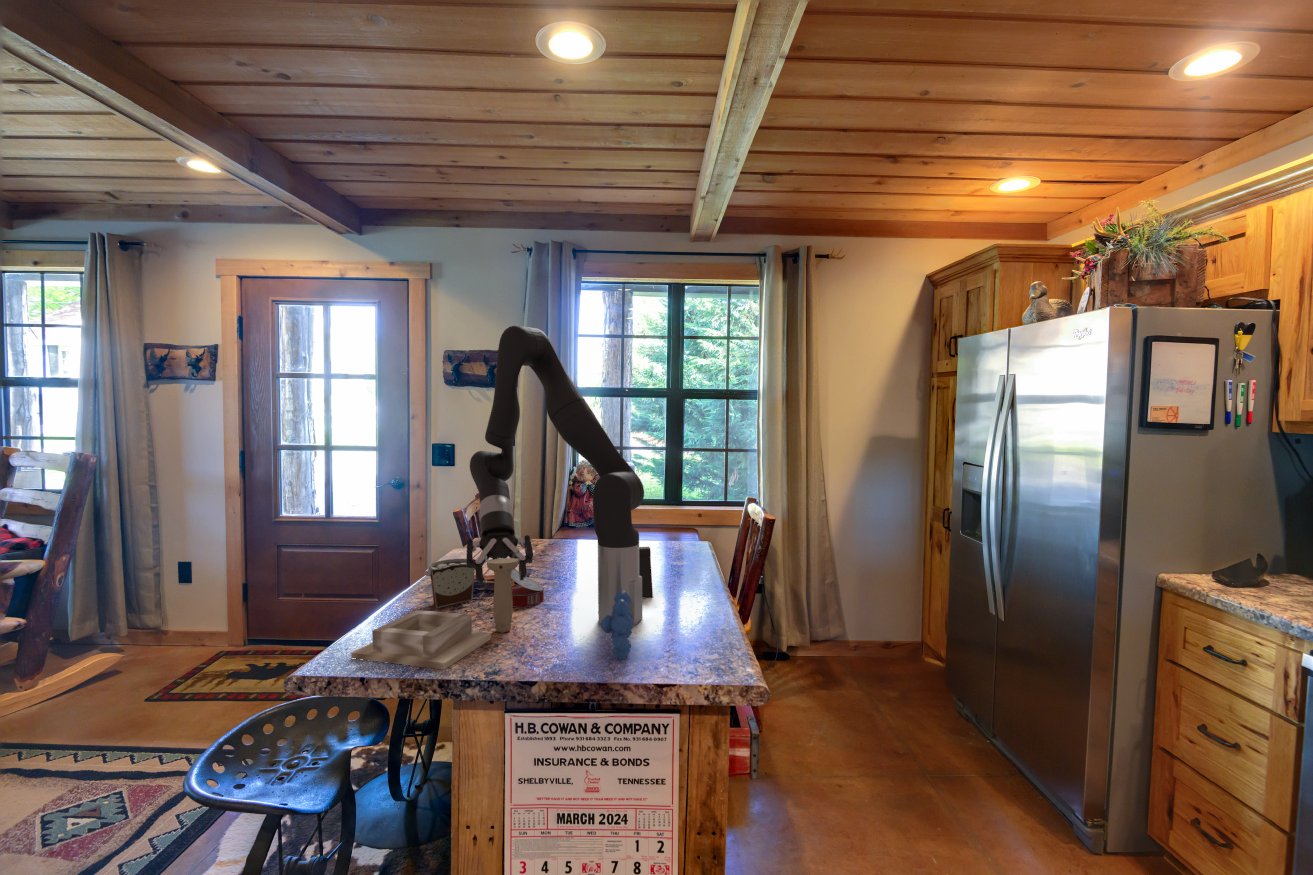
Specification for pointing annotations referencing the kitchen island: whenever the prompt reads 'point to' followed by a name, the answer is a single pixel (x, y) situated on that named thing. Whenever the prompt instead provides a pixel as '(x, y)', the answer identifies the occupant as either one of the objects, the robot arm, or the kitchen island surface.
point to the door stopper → (645, 571)
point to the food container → (451, 582)
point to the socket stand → (424, 640)
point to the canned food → (526, 591)
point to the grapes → (619, 624)
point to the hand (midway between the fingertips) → (502, 580)
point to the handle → (502, 592)
